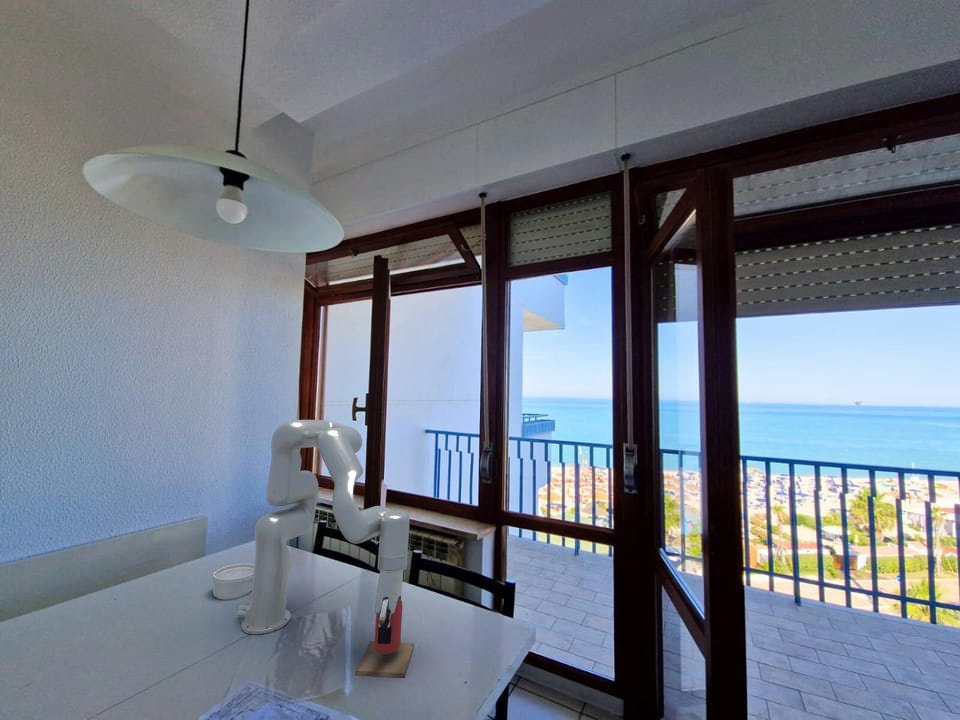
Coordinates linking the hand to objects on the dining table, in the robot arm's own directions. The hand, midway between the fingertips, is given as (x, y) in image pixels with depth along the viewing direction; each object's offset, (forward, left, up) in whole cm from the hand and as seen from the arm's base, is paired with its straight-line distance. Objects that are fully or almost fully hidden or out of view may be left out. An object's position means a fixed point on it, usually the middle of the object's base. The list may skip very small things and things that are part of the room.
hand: (387, 634), depth 98 cm
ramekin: (-60, +31, -6) cm, 68 cm away
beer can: (0, 0, -3) cm, 3 cm away
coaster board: (0, 0, -6) cm, 6 cm away
